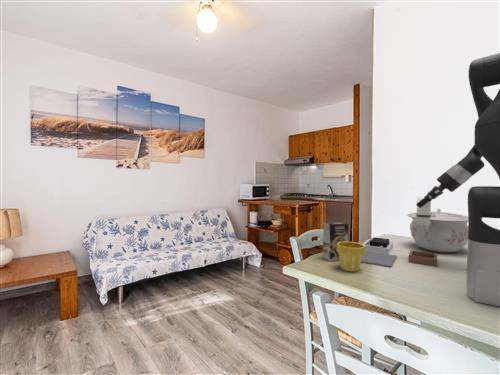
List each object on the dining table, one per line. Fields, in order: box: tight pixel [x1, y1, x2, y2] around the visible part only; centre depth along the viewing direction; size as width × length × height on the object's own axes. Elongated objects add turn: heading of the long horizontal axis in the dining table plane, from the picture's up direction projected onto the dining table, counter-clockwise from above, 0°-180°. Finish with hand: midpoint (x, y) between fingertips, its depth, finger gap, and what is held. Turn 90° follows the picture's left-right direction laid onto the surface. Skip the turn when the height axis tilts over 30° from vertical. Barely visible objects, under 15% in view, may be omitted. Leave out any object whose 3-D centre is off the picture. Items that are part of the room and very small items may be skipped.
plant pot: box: [337, 241, 365, 273], centre depth 105 cm, size 10×10×10 cm
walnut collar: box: [408, 249, 438, 267], centre depth 114 cm, size 10×10×3 cm
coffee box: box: [322, 221, 349, 262], centre depth 118 cm, size 9×6×16 cm
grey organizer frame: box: [362, 238, 394, 255], centre depth 135 cm, size 16×12×2 cm
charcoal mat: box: [360, 251, 398, 268], centre depth 118 cm, size 18×16×1 cm
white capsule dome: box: [416, 196, 432, 226], centre depth 114 cm, size 5×5×12 cm
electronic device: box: [369, 236, 390, 248], centre depth 134 cm, size 7×11×5 cm
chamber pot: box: [407, 208, 469, 254], centre depth 134 cm, size 28×28×21 cm
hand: (418, 205), depth 115 cm, fingers closed on white capsule dome, 5 cm apart
